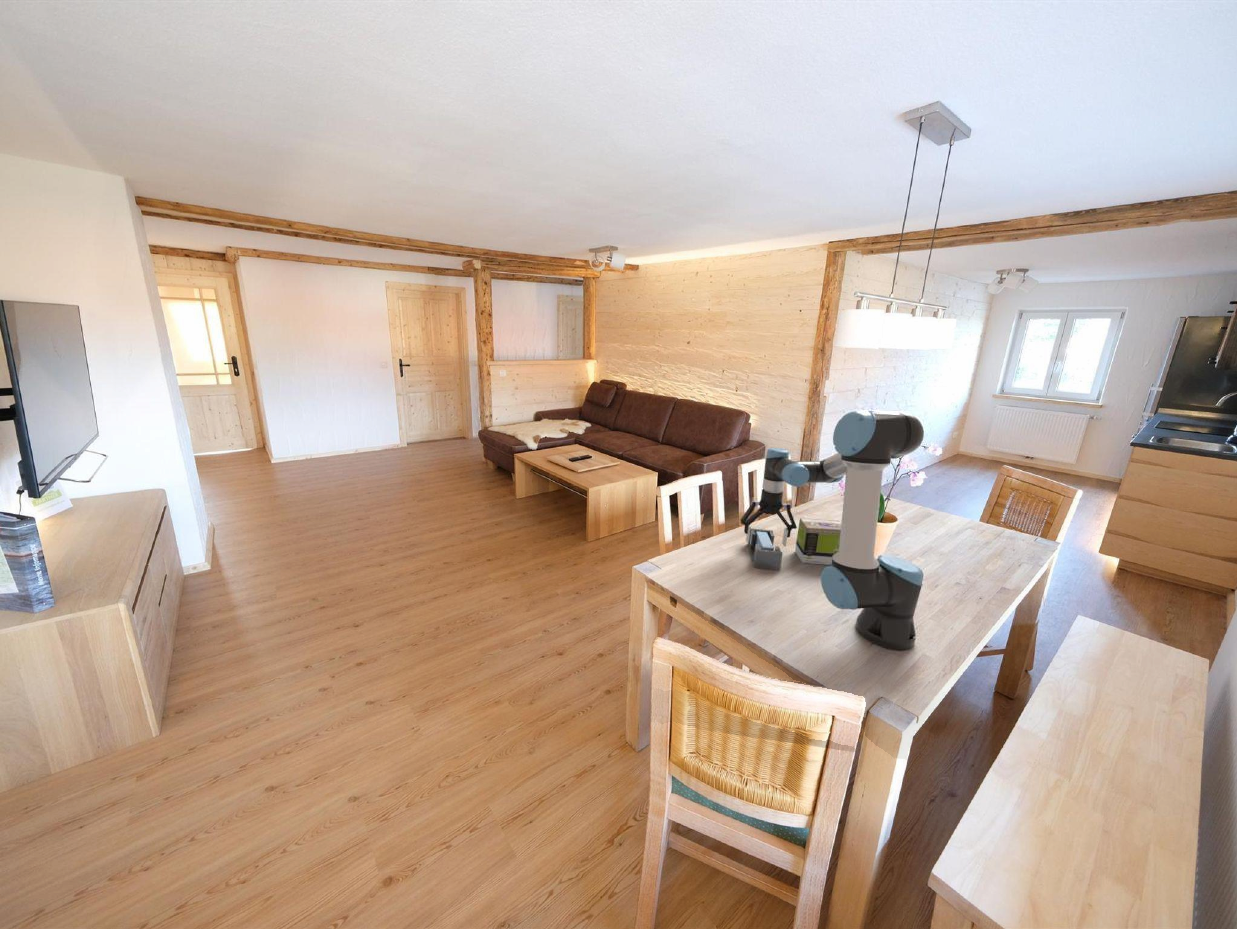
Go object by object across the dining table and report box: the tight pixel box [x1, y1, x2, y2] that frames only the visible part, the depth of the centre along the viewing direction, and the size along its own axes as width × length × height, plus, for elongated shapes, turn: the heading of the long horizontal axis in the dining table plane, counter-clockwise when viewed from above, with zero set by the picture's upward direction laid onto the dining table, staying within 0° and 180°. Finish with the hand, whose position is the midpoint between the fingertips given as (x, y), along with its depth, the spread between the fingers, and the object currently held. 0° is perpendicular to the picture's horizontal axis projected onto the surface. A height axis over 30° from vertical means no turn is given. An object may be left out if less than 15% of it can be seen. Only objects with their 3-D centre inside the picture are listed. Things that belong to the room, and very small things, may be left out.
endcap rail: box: [747, 528, 783, 572], centre depth 179 cm, size 20×9×7 cm, turn 172°
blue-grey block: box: [755, 531, 775, 551], centre depth 179 cm, size 14×4×6 cm, turn 174°
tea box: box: [794, 517, 842, 566], centre depth 178 cm, size 15×10×15 cm, turn 84°
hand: (765, 543), depth 177 cm, fingers open, 13 cm apart
